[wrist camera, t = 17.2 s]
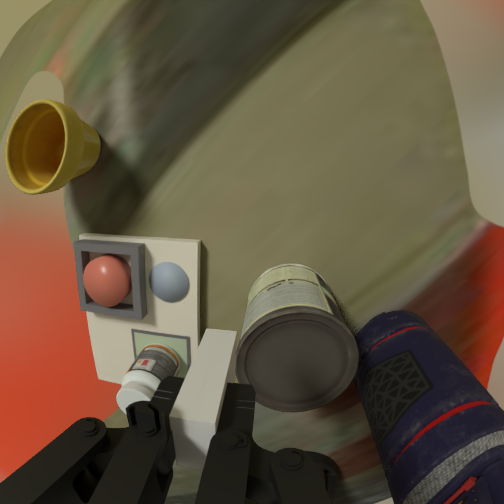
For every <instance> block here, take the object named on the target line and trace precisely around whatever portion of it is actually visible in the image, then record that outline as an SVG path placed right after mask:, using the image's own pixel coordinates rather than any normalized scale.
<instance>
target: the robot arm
mask: <svg viewBox="0 0 504 504" xmlns="http://www.w3.org/2000/svg"><path fill="white" fill-rule="evenodd" d="M236 340H237V331H228V330H217V329H206V331H205V333H204V336H203V338H202V340H201V342H200V345H199V347H198V349H197V352H196V354H195V356H194V359H193V361H192V363H191V366H190V368H189V370H188V373H187V375H186V377H185V378H182V377H175V376H167V377H166V378H165V379H163V380H162V381H161V382H160V384H159V385H158V387H157V390H156V391H155V393H154V395H153V397H152V399H151V401H143V400H142V401H137V402H134V403H132V404H129V405H128V406H127V407H126V409H125V410H126V414H127V418H128V422H129V427H126V428H106V426H105V423H104V422H102V421H101V420H100V419H97V418H92V417H90V418H89V417H87V418H82V419H80V420H78V421H76V422H75V423H74V424H72V425H71V426H70V427H69V428H68V429H66V430H65V431H64V432H63V433H62V434H60V435H59V436H58V437H57V438H56V439H54V440H53V441H52V442H51V443H49V444H48V445H47V446H46V447H44V448H43V449H42V450H41V451H40V452H38V453H37V454H36V455H35V456H33V457H32V458H31V459H30V460H29V461H27V462H26V463H25V464H24V465H23V466H21V467H20V468H19V469H17V470H16V471H15V472H14V473H12V474H11V475H10V476H9V477H7V478H6V479H5V480H4V481H2V482H1V483H0V504H164V502H165V499H166V496H167V493H168V490H169V487H170V484H171V481H172V478H173V468H172V466H173V463H174V460H176V465H178V466H183V467H189V468H195V469H202V470H203V472H202V476H201V480H200V484H199V489H198V493H197V497H196V501H195V504H245V501H246V498H248V499H251V500H254V501H257V502H258V504H332V503H333V500H334V496H335V493H336V489H337V485H338V481H339V475H338V469H337V466H336V464H335V462H334V461H333V460H332V459H330V458H329V457H327V456H325V455H322V454H319V453H314V452H305V451H303V450H300V449H296V448H285V449H281V450H279V451H277V452H276V453H274V452H271V451H268V450H265V449H263V448H261V447H259V446H258V445H257V444H256V443H255V442H254V440H253V438H252V431H253V420H254V409H255V397H256V392H255V390H254V388H253V386H252V385H251V384H239V383H234V379H235V366H236Z"/></svg>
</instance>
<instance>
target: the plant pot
mask: <svg viewBox="0 0 504 504" xmlns="http://www.w3.org/2000/svg"><path fill="white" fill-rule="evenodd" d="M100 148H101V144H100V138H99V135H98V133H97V132H96V130H95V129H94V128H93V127H91V126H90V125H88V124H87V123H85V122H84V121H82V120H81V119H80V118H79V116H78V115H77V113H76V112H75V111H74V110H73V109H72V108H71V107H69V106H67V105H65V104H62V103H59V102H56V101H52V100H47V99H43V100H37V101H35V102H32V103H31V104H29V105H28V106H26V107H25V108H24V109H23V110H22V111H21V112H20V113H19V115H18V116H17V118H16V119H15V121H14V122H13V124H12V126H11V129H10V131H9V134H8V138H7V143H6V153H5V154H6V155H5V157H6V166H7V171H8V173H9V176H10V179H11V180H12V182H13V183H14V185H15V186H16V187H17V188H18V189H19V190H20V191H22V192H24V193H26V194H42V193H48V192H52V191H56V190H58V189H60V188H62V187H63V186H65V185H66V184H67V183H68V182H69V181H70V180H71V179H73V178H75V177H77V176H80V175H82V174H84V173H86V172H88V171H89V170H90V169H91V168H92V167H93V166H94V165H95V163H96V162H97V160H98V157H99V154H100Z"/></svg>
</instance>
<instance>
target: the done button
mask: <svg viewBox="0 0 504 504" xmlns="http://www.w3.org/2000/svg"><path fill="white" fill-rule="evenodd" d="M83 282H84V286H85V289H86V291H87V293H88V295H89V296H90V297H91V298H92V299H93V300H94V301H95V302H96V303H98V304H100V305H102V306H106V307H111V306H115V305H117V304H118V303H120V302H121V301H122V300H123V299H124V298H125V297H126V296H128V295H129V294H130V292H131V291H132V279H131V268H130V266H129V264H128V263H127V262H126V261H125V260H124V259H123V258H122V257H120V256H118V255H116V254H104V255H102V256H100V257H98V258H96V259H94V260H92V261H91V262H89V263H88V264H87V266H86V268H85V270H84V274H83Z"/></svg>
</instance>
